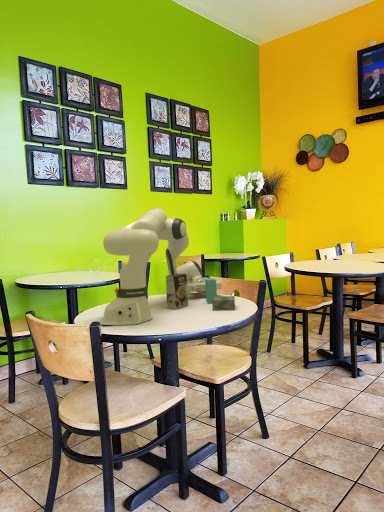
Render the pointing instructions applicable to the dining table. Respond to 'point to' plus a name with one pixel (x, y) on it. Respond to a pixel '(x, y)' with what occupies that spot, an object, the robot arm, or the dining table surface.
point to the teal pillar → (210, 290)
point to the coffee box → (176, 291)
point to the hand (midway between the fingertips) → (206, 288)
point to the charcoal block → (223, 303)
